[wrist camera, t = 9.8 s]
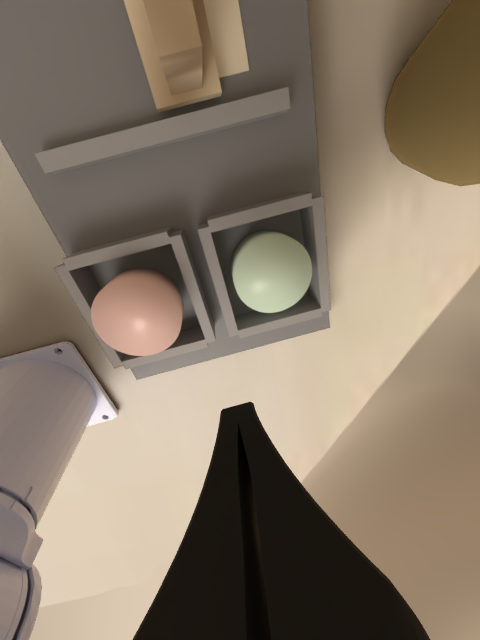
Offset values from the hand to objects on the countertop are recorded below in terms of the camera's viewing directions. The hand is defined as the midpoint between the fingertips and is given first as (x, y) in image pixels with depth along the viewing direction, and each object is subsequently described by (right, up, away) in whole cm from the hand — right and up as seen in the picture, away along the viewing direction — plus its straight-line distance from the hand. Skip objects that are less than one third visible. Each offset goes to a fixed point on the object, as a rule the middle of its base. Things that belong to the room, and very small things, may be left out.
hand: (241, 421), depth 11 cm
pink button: (-6, +5, +4) cm, 9 cm away
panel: (-3, +12, +4) cm, 13 cm away
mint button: (+1, +8, +5) cm, 9 cm away
